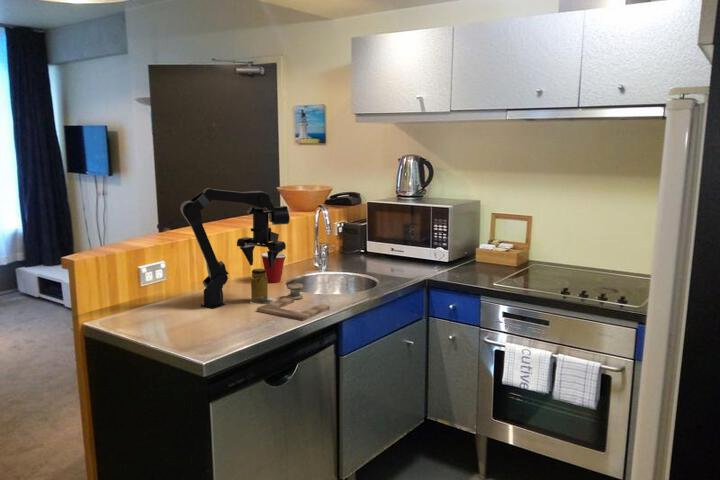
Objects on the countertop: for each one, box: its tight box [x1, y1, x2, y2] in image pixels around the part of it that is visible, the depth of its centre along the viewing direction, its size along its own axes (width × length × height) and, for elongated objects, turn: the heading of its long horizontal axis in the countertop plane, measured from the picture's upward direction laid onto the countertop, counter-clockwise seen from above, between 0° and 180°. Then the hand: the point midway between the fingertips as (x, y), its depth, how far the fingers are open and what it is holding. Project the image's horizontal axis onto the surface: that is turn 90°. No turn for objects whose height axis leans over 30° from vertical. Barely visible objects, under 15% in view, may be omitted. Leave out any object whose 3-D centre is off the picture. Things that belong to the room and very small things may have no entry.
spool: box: [286, 282, 304, 301], centre depth 222 cm, size 6×6×5 cm
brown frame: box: [256, 297, 330, 321], centre depth 207 cm, size 16×20×1 cm
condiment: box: [249, 268, 274, 305], centre depth 217 cm, size 7×8×12 cm
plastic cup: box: [260, 252, 287, 284], centre depth 246 cm, size 11×11×12 cm
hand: (261, 266), depth 216 cm, fingers open, 9 cm apart
